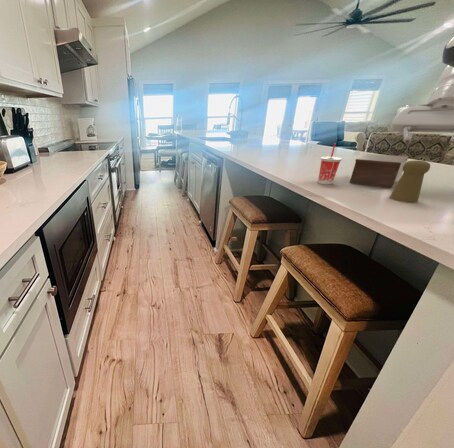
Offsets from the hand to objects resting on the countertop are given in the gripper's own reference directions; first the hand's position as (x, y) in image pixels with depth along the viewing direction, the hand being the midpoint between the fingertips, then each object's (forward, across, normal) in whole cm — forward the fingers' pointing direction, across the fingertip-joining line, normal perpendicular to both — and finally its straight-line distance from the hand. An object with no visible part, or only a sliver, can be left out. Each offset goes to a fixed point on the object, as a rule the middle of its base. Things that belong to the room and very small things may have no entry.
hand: (428, 141), depth 71 cm
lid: (0, -10, +10) cm, 14 cm away
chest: (+6, -10, +16) cm, 19 cm away
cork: (+18, 0, +3) cm, 19 cm away
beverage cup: (+14, -22, +8) cm, 27 cm away
